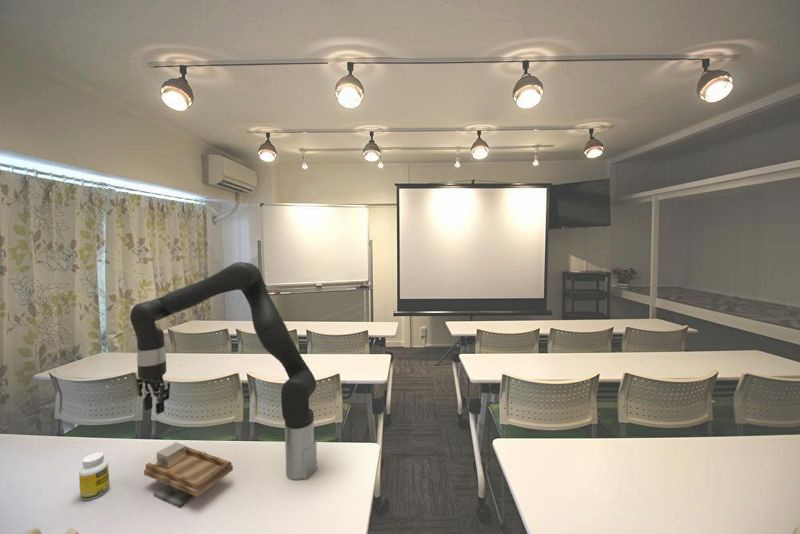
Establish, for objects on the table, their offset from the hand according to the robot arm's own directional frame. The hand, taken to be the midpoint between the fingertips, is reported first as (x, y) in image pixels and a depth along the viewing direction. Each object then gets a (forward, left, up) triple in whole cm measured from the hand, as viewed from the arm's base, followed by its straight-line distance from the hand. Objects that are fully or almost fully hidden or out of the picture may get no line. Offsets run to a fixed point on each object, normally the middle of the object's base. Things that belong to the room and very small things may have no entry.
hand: (154, 410), depth 107 cm
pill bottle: (+8, +13, -22) cm, 27 cm away
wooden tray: (-16, 0, -22) cm, 27 cm away
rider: (-8, 0, -15) cm, 17 cm away
